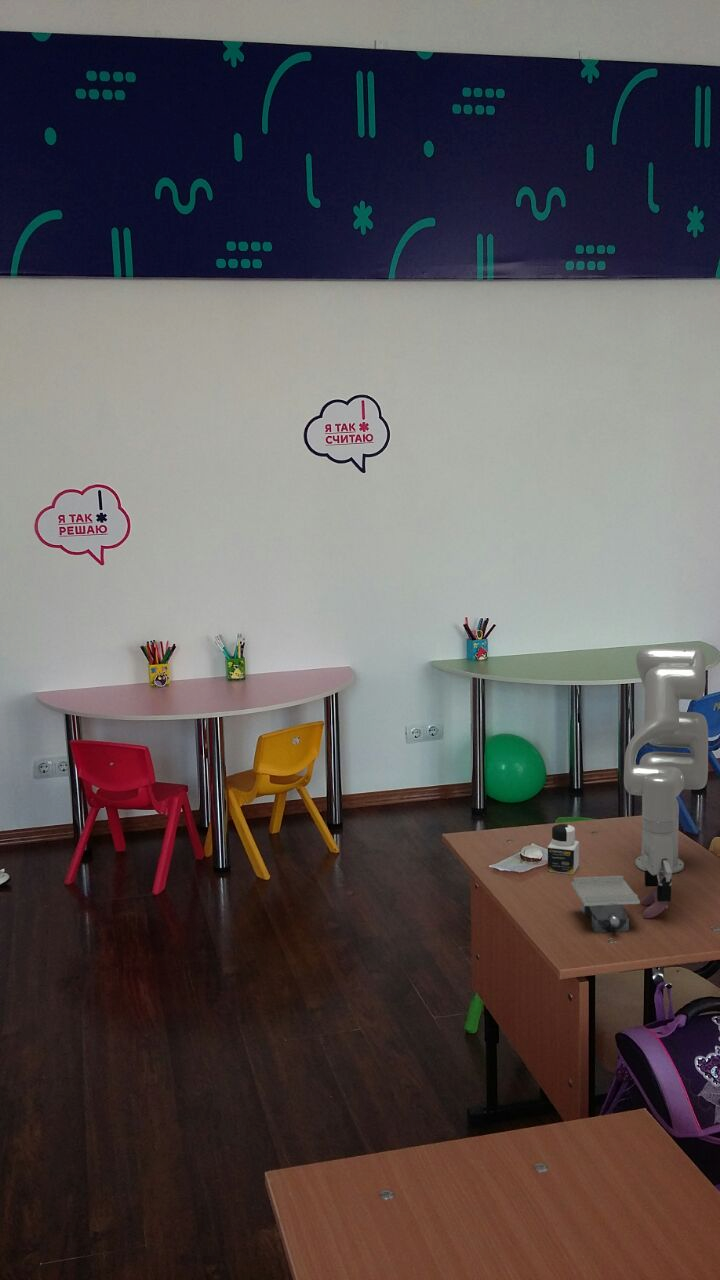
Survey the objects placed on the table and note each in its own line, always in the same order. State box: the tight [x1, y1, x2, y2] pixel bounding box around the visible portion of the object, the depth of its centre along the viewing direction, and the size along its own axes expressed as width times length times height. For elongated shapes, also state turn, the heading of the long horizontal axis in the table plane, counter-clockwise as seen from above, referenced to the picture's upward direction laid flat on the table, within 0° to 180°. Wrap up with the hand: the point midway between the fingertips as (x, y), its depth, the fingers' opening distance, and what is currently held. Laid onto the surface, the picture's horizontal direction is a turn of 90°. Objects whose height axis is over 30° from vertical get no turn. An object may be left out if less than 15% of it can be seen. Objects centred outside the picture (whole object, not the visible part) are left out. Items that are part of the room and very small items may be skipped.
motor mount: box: [570, 875, 641, 933], centre depth 263 cm, size 16×13×9 cm
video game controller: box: [640, 887, 669, 919], centre depth 269 cm, size 10×5×7 cm, turn 169°
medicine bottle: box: [547, 823, 580, 875], centre depth 299 cm, size 7×7×12 cm
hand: (657, 893), depth 269 cm, fingers open, 9 cm apart
